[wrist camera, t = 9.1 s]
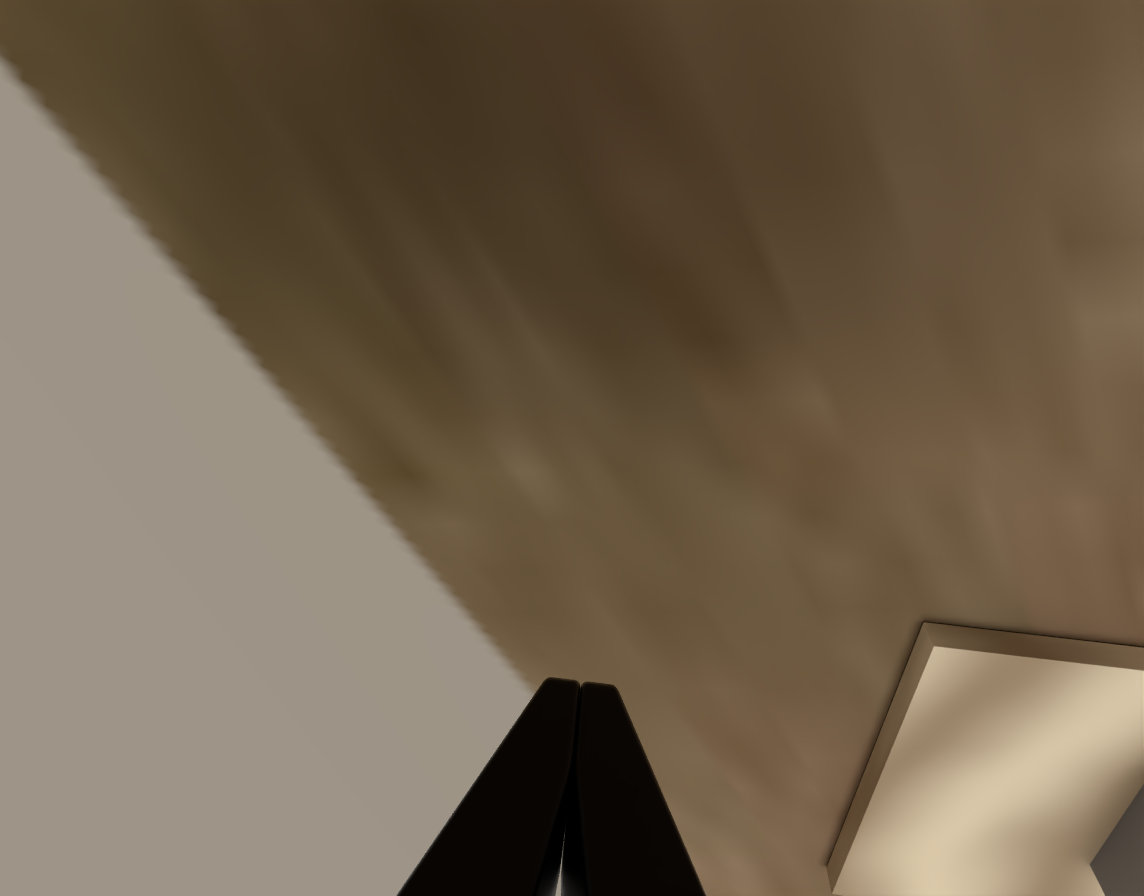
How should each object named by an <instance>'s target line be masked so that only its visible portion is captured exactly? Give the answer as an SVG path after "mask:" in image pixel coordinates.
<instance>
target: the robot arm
mask: <svg viewBox="0 0 1144 896" xmlns="http://www.w3.org/2000/svg"><path fill="white" fill-rule="evenodd" d="M564 834H565V836H564ZM563 842H564V845H563ZM562 851H563V856H562ZM561 858H562V871H561V896H706V894H705V892H704V889H703V887H702V885H701V882H700V880H699V878H698V875H697V873H696V871H695V868H694V866H693V864H692V861H691V859H690V857H689V854H688V852H687V850H686V847H685V845H684V843H683V840H682V838H681V836H680V833H679V831H678V829H677V826H676V824H675V822H674V819H673V817H672V815H671V812H670V810H669V808H668V805H667V803H666V801H665V798H664V796H663V794H662V791H661V789H660V787H659V784H658V782H657V780H656V777H655V775H654V773H653V770H652V768H651V766H650V763H649V761H648V759H647V756H646V754H645V752H644V749H643V747H642V745H641V742H640V740H639V738H638V735H637V733H636V731H635V728H634V726H633V724H632V721H631V719H630V717H629V714H628V712H627V710H626V707H625V705H624V703H623V700H622V698H621V696H620V693H619V691H618V689H617V688H616V687H615V686H614V685H611V684H603V683H595V682H584V683H583V684H582V685H581V689H580V684H579V682H578V681H576V680H570V679H562V678H553V677H549V678H547V679H546V680H545V681H544V682H543V683H542V684H541V686H540V687H539V689H538V690H537V691H536V693H535V694H534V696H533V697H532V699H531V700H530V702H529V703H528V705H527V706H526V708H525V709H524V710H523V712H522V714H521V715H520V717H519V718H518V719H517V721H516V722H515V724H514V725H513V726H512V728H511V729H510V731H509V732H508V734H507V735H506V737H505V738H504V740H503V741H502V743H501V744H500V746H499V747H498V748H497V750H496V751H495V753H494V754H493V756H492V757H491V759H490V760H489V762H488V763H487V764H486V766H485V767H484V769H483V770H482V772H481V773H480V775H479V776H478V778H477V779H476V781H475V782H474V783H473V785H472V786H471V788H470V789H469V791H468V792H467V794H466V795H465V797H464V798H463V799H462V801H461V802H460V804H459V805H458V807H457V808H456V810H455V811H454V813H453V814H452V816H451V817H450V818H449V820H448V821H447V823H446V824H445V826H444V827H443V829H442V830H441V832H440V833H439V835H438V836H437V837H436V839H435V840H434V842H433V843H432V845H431V846H430V848H429V849H428V850H427V852H426V853H425V855H424V857H423V858H422V859H421V861H420V862H419V864H418V865H417V867H416V868H415V870H414V871H413V872H412V874H411V875H410V877H409V878H408V880H407V881H406V883H405V884H404V886H403V887H402V888H401V890H400V891H399V893H398V894H397V896H555V894H556V888H557V884H558V879H559V873H560V866H561Z"/></svg>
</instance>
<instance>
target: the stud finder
mask: <svg viewBox="0 0 1144 896" xmlns="http://www.w3.org/2000/svg"><path fill="white" fill-rule="evenodd" d="M1090 867H1091V869H1092V871H1093V873H1094V875H1095V877H1096V879H1097V881H1098V882H1099V884H1100V886H1101V888H1102V890H1103V892H1104V894H1105V896H1144V785H1143V786H1142V788H1141V789H1140V791H1139V792H1138V794H1137V795H1136V796H1135V798H1134V799H1133V801H1132V802H1131V804H1130V805H1129V807H1128V808H1127V810H1126V811H1125V813H1124V814H1123V816H1122V817H1121V819H1120V820H1119V822H1118V823H1117V825H1116V826H1115V828H1114V829H1113V831H1112V832H1111V834H1110V835H1109V837H1108V838H1107V840H1106V841H1105V843H1104V844H1103V846H1102V847H1101V848H1100V850H1099V851H1098V853H1097V854H1096V856H1095V857H1094V859H1093V860H1092V862H1091V863H1090Z"/></svg>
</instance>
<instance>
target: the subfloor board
mask: <svg viewBox="0 0 1144 896" xmlns="http://www.w3.org/2000/svg"><path fill="white" fill-rule="evenodd" d="M1143 785H1144V648H1142V647H1133V646H1124V645H1116V644H1107V643H1098V642H1090V641H1081V640H1073V639H1064V638H1055V637H1047V636H1038V635H1029V634H1021V633H1012V632H1004V631H995V630H986V629H978V628H969V627H960V626H952V625H943V624H934V623H926V622H923V625H922V627H921V630H920V633H919V635H918V638H917V640H916V643H915V645H914V648H913V650H912V653H911V655H910V658H909V660H908V663H907V665H906V668H905V670H904V673H903V676H902V678H901V681H900V683H899V686H898V688H897V691H896V693H895V696H894V698H893V701H892V703H891V706H890V708H889V711H888V713H887V716H886V719H885V721H884V724H883V726H882V729H881V731H880V734H879V736H878V739H877V741H876V744H875V746H874V749H873V751H872V754H871V756H870V759H869V762H868V764H867V767H866V769H865V772H864V774H863V777H862V779H861V782H860V784H859V787H858V789H857V792H856V794H855V797H854V799H853V802H852V805H851V807H850V810H849V812H848V815H847V817H846V820H845V822H844V825H843V827H842V830H841V832H840V835H839V837H838V840H837V842H836V845H835V847H834V850H833V853H832V855H831V858H830V860H829V863H828V865H827V872H828V877H829V882H830V887H831V892H832V894H836V895H844V896H1105V894H1104V892H1103V890H1102V888H1101V886H1100V884H1099V882H1098V881H1097V879H1096V877H1095V875H1094V873H1093V871H1092V869H1091V867H1090V863H1091V862H1092V860H1093V859H1094V857H1095V856H1096V854H1097V853H1098V851H1099V850H1100V848H1101V847H1102V846H1103V844H1104V843H1105V841H1106V840H1107V838H1108V837H1109V835H1110V834H1111V832H1112V831H1113V829H1114V828H1115V826H1116V825H1117V823H1118V822H1119V820H1120V819H1121V817H1122V816H1123V814H1124V813H1125V811H1126V810H1127V808H1128V807H1129V805H1130V804H1131V802H1132V801H1133V799H1134V798H1135V796H1136V795H1137V794H1138V792H1139V791H1140V789H1141V788H1142V786H1143Z"/></svg>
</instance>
